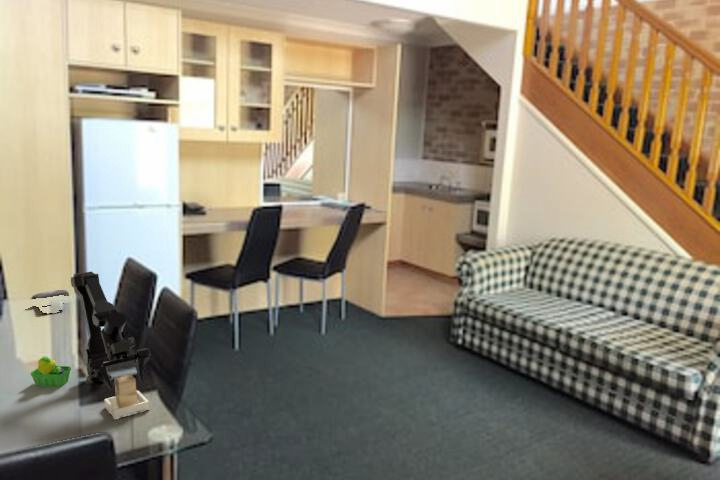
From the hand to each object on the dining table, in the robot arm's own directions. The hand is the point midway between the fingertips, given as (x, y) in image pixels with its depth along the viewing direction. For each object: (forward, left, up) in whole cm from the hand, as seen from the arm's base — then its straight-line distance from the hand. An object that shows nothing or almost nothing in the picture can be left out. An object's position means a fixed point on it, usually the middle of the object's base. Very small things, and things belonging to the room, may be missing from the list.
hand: (126, 385), depth 185 cm
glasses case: (-145, +21, -9) cm, 146 cm away
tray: (-1, 0, -9) cm, 9 cm away
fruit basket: (-39, -11, -9) cm, 42 cm away
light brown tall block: (-1, 0, -8) cm, 8 cm away
